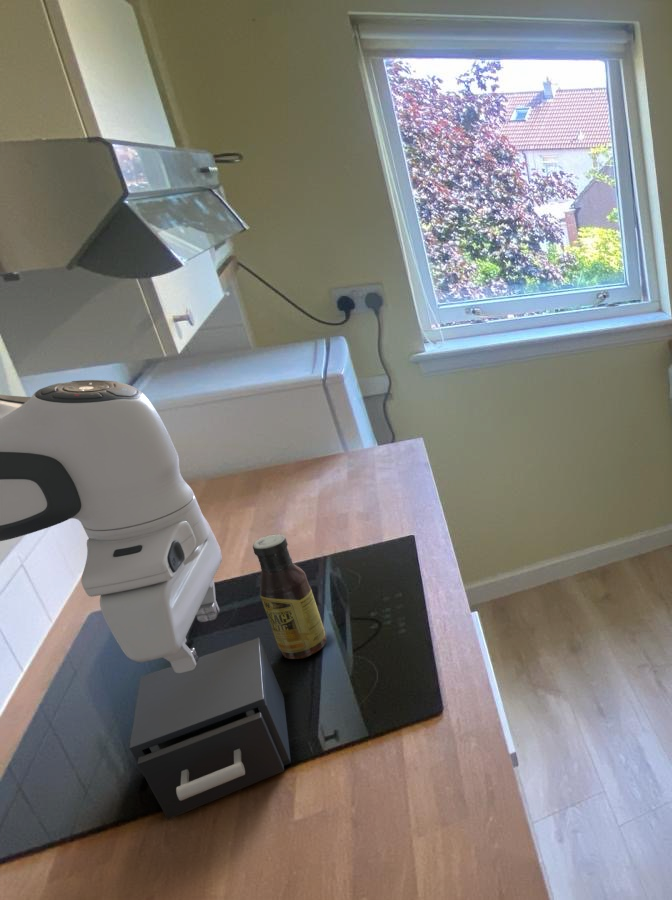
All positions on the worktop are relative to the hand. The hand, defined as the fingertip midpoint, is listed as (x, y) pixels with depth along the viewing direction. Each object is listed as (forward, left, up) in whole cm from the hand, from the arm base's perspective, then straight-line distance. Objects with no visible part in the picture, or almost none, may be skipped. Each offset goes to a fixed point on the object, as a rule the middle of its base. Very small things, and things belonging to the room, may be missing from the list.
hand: (199, 641), depth 81 cm
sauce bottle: (+6, +29, -23) cm, 37 cm away
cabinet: (-4, +11, -23) cm, 26 cm away
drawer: (-4, +6, -22) cm, 23 cm away
